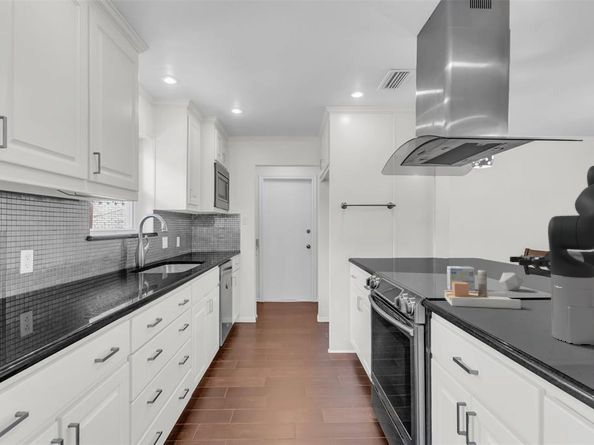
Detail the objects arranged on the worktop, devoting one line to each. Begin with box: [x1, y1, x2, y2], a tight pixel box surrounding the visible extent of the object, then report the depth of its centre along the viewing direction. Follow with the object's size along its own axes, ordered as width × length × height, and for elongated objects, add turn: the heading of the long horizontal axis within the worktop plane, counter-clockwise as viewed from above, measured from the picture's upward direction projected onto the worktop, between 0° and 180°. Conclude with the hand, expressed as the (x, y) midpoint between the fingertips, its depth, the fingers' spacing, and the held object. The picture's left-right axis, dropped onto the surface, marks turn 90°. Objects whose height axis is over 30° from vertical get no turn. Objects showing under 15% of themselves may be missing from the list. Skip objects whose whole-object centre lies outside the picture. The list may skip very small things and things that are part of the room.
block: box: [452, 281, 469, 297], centre depth 130 cm, size 5×5×5 cm
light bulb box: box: [446, 265, 476, 291], centre depth 151 cm, size 11×7×11 cm, turn 78°
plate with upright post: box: [444, 269, 489, 300], centre depth 129 cm, size 11×14×11 cm
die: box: [498, 272, 524, 292], centre depth 150 cm, size 8×9×10 cm
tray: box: [444, 289, 522, 310], centre depth 128 cm, size 14×23×3 cm, turn 76°
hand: (514, 260), depth 125 cm, fingers open, 8 cm apart
